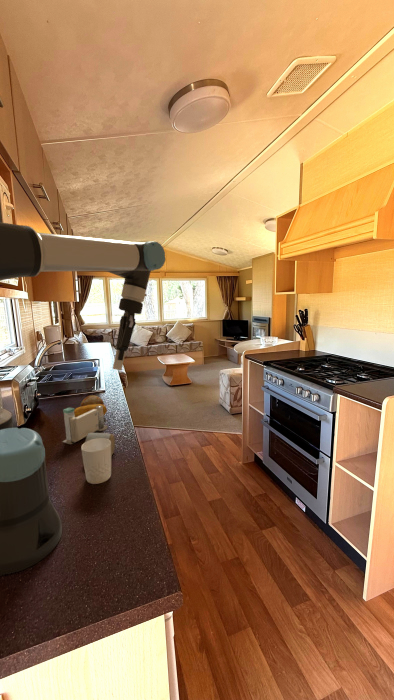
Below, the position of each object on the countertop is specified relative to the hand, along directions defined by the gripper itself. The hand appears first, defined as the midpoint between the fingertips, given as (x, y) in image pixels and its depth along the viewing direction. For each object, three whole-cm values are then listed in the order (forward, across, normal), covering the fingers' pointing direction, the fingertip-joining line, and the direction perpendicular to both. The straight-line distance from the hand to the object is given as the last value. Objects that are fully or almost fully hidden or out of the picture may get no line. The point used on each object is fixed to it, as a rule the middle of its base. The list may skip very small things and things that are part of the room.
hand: (117, 369), depth 100 cm
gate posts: (+28, +15, +3) cm, 32 cm away
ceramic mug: (+28, -2, 0) cm, 28 cm away
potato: (+27, +29, 0) cm, 40 cm away
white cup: (+29, -16, +2) cm, 33 cm away
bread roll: (+26, +43, -2) cm, 51 cm away
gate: (+28, +13, +3) cm, 31 cm away
